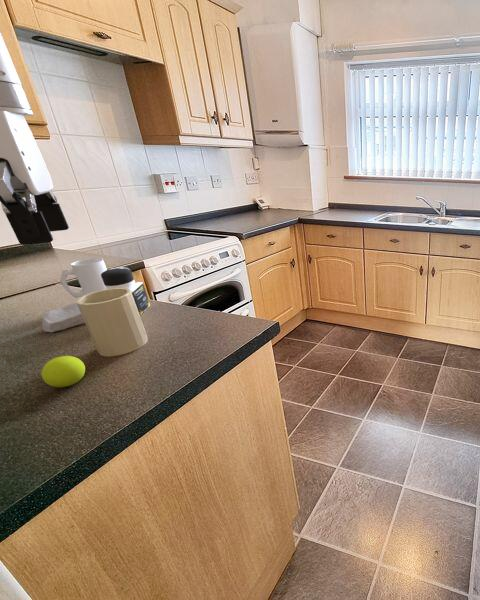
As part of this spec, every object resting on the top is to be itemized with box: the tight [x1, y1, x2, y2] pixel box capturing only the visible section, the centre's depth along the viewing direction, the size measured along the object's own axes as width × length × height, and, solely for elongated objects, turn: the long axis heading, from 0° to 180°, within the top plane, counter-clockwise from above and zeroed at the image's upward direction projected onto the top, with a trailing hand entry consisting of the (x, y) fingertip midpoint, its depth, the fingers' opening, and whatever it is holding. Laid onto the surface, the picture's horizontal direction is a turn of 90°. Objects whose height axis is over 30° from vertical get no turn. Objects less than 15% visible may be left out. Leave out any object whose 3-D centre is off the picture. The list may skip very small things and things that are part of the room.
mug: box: [60, 257, 108, 299], centre depth 93 cm, size 10×7×12 cm, turn 131°
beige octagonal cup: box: [75, 288, 149, 357], centre depth 72 cm, size 9×9×12 cm
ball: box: [41, 355, 86, 388], centre depth 61 cm, size 6×6×6 cm
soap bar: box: [41, 302, 85, 333], centre depth 83 cm, size 10×6×6 cm, turn 144°
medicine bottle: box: [101, 267, 151, 316], centre depth 87 cm, size 7×7×12 cm
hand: (47, 236), depth 49 cm, fingers open, 9 cm apart
